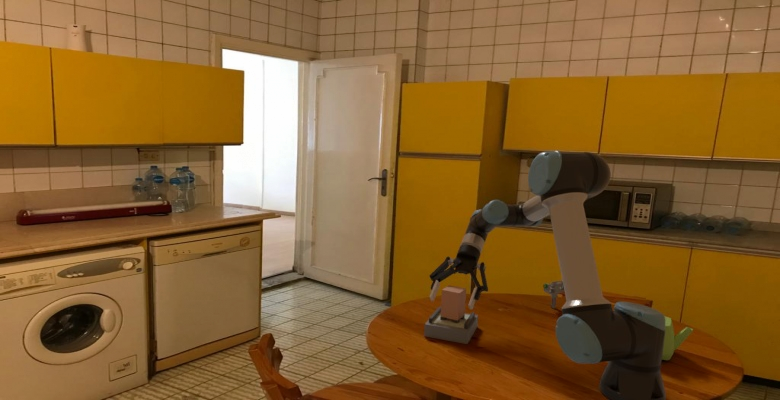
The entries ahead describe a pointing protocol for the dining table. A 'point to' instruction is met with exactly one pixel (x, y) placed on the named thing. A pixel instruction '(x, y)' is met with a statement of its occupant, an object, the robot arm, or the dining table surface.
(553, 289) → the mechanical component
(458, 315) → the block
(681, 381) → the dining table surface
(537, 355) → the dining table surface
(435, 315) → the step
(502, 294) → the dining table surface
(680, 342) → the teapot
